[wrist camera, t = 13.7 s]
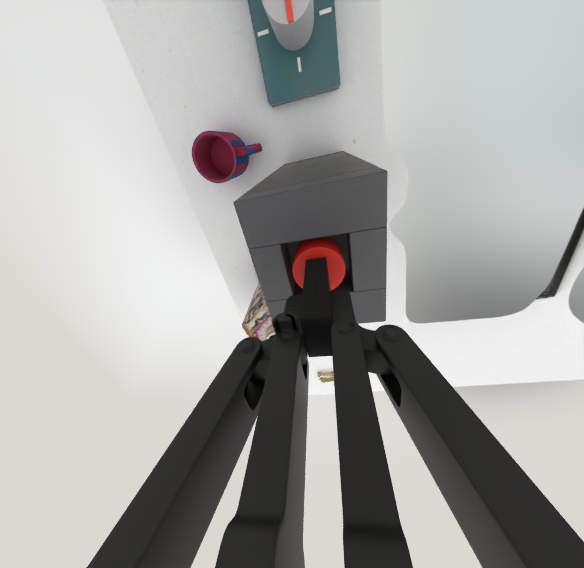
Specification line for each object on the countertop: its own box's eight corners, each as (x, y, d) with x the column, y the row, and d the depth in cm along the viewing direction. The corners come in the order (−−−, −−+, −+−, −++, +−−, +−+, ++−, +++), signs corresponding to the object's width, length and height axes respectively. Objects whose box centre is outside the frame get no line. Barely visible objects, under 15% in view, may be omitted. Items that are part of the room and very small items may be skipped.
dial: (268, 0, 27) (251, -49, 20) (310, -16, 26) (307, -73, 19) (278, 56, 30) (266, 30, 23) (316, 43, 29) (316, 12, 22)
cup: (205, 134, 38) (185, 133, 32) (264, 127, 36) (254, 125, 31) (216, 178, 41) (199, 184, 35) (270, 173, 40) (262, 179, 34)
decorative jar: (283, 250, 48) (267, 302, 32) (326, 280, 50) (330, 340, 35) (255, 287, 53) (231, 346, 38) (295, 312, 56) (287, 375, 41)
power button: (290, 239, 19) (287, 251, 16) (340, 231, 18) (343, 243, 16) (299, 281, 21) (297, 296, 19) (344, 275, 20) (347, 290, 18)
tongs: (363, 371, 66) (363, 377, 64) (321, 378, 70) (321, 384, 68) (358, 362, 64) (359, 368, 62) (316, 370, 68) (315, 376, 67)
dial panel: (244, -35, 28) (236, -53, 25) (326, -69, 26) (327, -92, 23) (272, 107, 35) (268, 104, 32) (338, 88, 33) (340, 84, 30)
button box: (284, 164, 39) (232, 202, 15) (343, 150, 37) (387, 170, 14) (297, 231, 45) (275, 331, 22) (348, 222, 43) (385, 321, 20)
